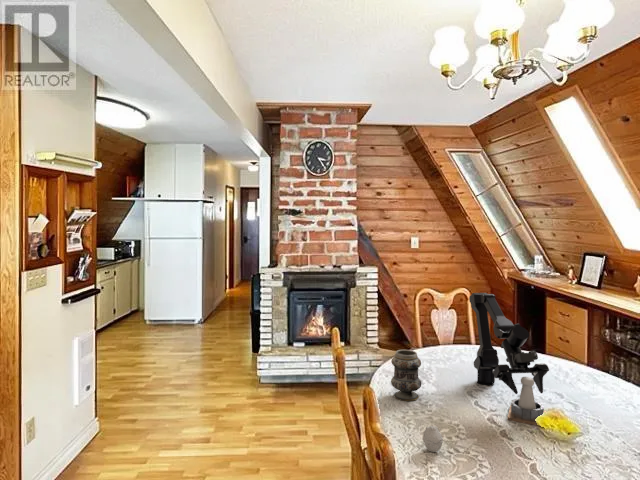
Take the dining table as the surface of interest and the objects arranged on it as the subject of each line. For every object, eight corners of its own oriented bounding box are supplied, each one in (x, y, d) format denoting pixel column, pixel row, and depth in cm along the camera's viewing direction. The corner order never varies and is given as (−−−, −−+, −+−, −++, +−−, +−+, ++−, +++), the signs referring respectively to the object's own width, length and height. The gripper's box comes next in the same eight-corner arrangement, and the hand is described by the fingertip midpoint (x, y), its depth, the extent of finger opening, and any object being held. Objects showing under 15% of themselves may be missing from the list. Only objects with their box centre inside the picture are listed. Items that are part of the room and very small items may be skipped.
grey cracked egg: (439, 444, 135) (439, 422, 134) (446, 456, 128) (446, 433, 127) (419, 444, 134) (419, 422, 134) (426, 456, 127) (426, 433, 127)
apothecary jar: (424, 393, 176) (424, 350, 175) (417, 404, 165) (417, 358, 164) (395, 389, 181) (395, 346, 180) (387, 399, 170) (387, 354, 170)
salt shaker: (534, 418, 150) (535, 382, 149) (516, 414, 153) (517, 378, 152) (536, 412, 154) (537, 377, 154) (519, 408, 158) (520, 373, 157)
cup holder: (507, 419, 151) (507, 407, 151) (510, 407, 162) (510, 395, 162) (545, 427, 145) (545, 414, 145) (546, 413, 156) (546, 401, 156)
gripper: (497, 343, 156) (512, 384, 146) (546, 341, 157) (565, 382, 147) (487, 357, 164) (500, 397, 154) (534, 356, 165) (551, 396, 155)
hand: (529, 393), depth 152 cm, fingers open, 9 cm apart
